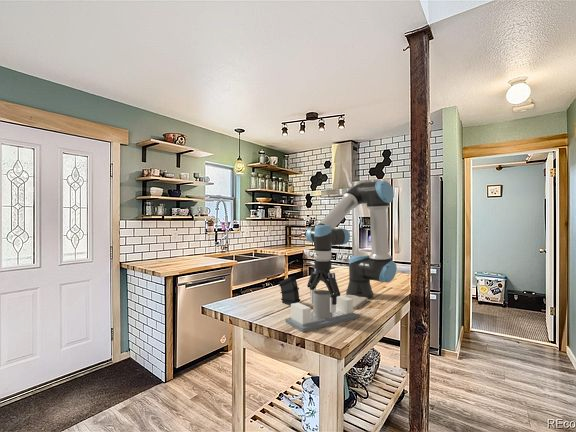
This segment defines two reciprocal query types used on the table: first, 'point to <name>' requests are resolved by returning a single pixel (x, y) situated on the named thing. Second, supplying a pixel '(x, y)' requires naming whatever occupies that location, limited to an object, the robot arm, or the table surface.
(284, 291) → the black ribbed block
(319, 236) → the robot arm
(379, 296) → the table surface
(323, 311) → the cup
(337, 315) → the steel rail
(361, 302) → the washcloth
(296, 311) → the block
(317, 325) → the rail board
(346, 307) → the module
